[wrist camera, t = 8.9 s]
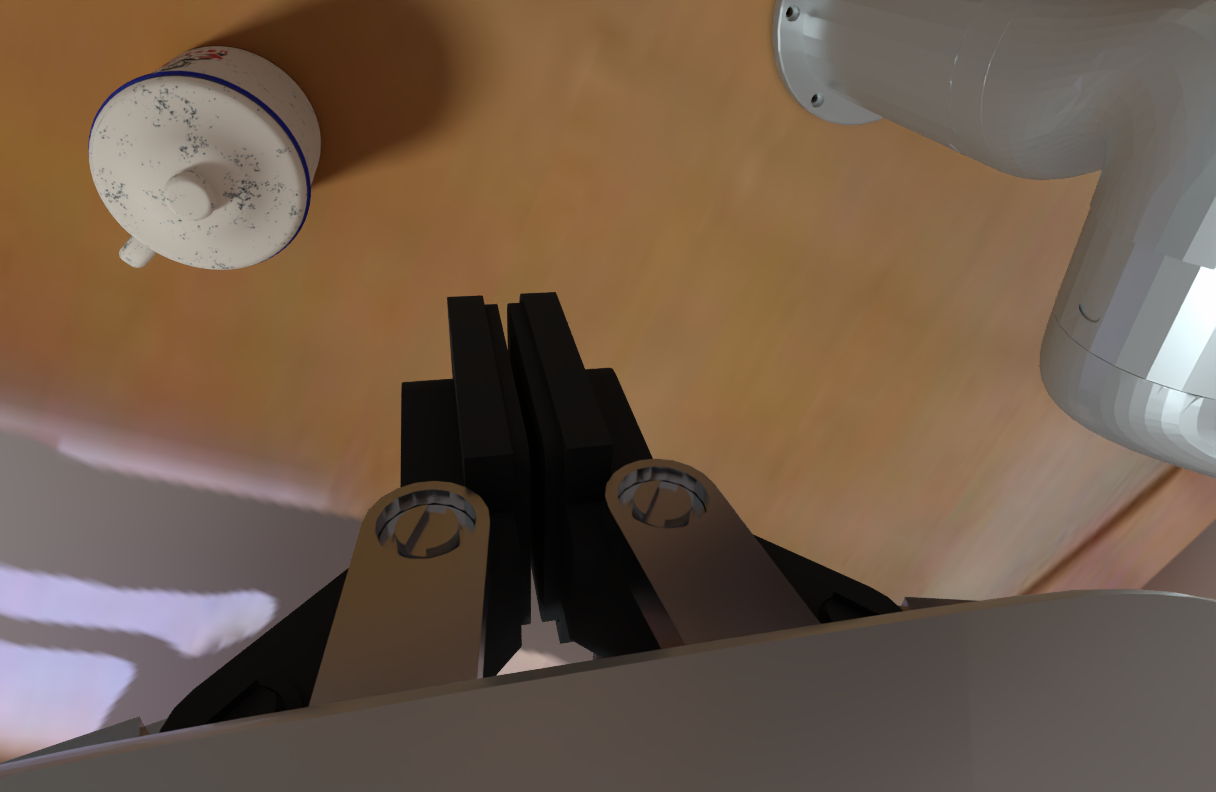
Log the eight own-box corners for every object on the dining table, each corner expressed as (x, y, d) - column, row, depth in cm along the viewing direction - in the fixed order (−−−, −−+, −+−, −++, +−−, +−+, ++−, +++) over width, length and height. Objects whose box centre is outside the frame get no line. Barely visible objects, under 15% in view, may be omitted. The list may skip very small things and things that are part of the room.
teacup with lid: (212, -2, 37) (145, 33, 27) (360, 132, 42) (346, 200, 32) (77, 165, 39) (-26, 249, 30) (231, 271, 44) (184, 372, 35)
